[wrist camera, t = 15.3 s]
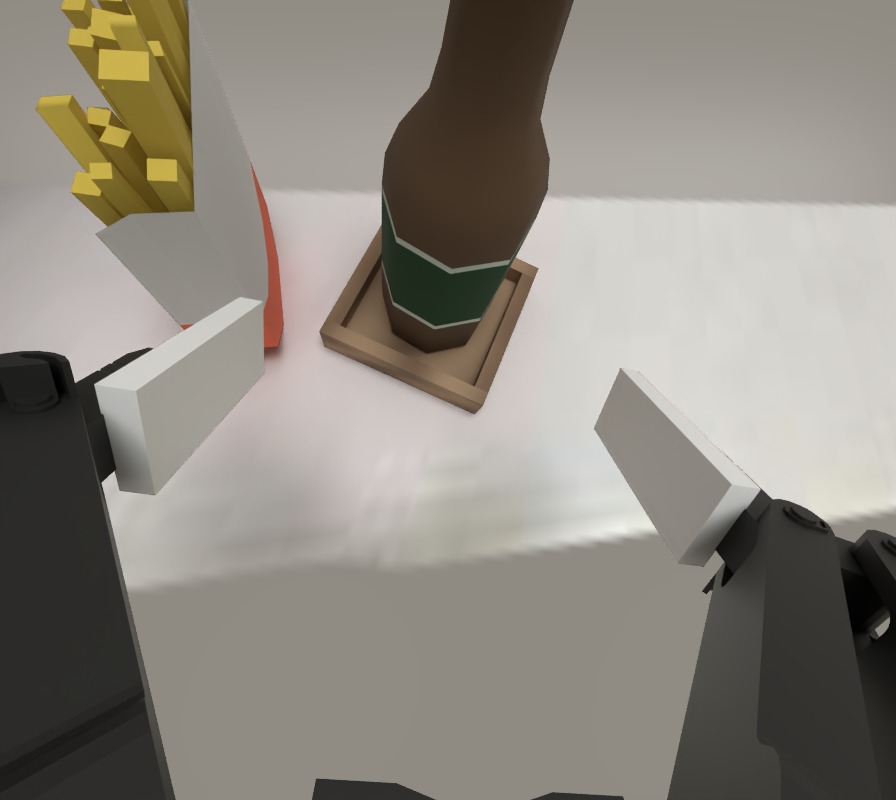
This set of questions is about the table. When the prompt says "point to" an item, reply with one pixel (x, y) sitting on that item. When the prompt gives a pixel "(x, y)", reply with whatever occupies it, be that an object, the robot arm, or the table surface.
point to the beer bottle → (468, 169)
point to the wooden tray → (438, 373)
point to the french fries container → (167, 161)
